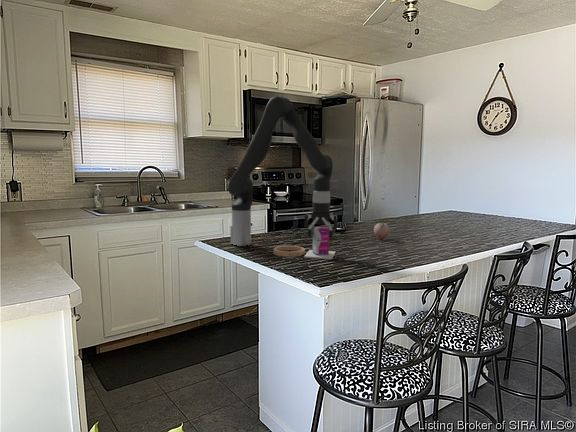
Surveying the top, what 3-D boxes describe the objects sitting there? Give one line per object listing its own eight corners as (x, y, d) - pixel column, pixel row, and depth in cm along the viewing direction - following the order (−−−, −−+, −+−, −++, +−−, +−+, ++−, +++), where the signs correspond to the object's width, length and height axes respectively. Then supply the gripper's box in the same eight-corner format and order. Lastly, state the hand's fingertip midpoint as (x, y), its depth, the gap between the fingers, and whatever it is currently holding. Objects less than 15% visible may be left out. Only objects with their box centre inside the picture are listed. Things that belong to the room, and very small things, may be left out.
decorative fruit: (391, 241, 213) (392, 222, 212) (375, 241, 213) (376, 222, 212) (387, 238, 223) (388, 219, 221) (372, 237, 223) (372, 219, 221)
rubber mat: (304, 257, 176) (304, 256, 176) (309, 251, 189) (309, 249, 188) (332, 259, 173) (332, 257, 173) (335, 252, 186) (335, 251, 186)
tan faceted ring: (270, 255, 179) (270, 251, 179) (278, 249, 192) (278, 245, 192) (301, 257, 176) (301, 252, 176) (306, 250, 189) (307, 246, 189)
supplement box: (316, 255, 177) (316, 229, 176) (312, 252, 183) (312, 227, 181) (329, 254, 179) (329, 228, 177) (324, 252, 184) (325, 226, 183)
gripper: (303, 201, 176) (302, 238, 178) (336, 202, 173) (335, 240, 175) (306, 200, 183) (306, 235, 185) (338, 201, 180) (337, 237, 182)
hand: (320, 238), depth 180 cm, fingers open, 8 cm apart
